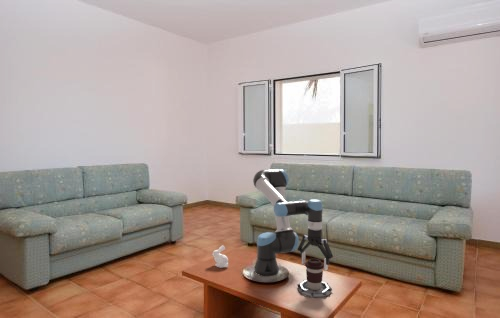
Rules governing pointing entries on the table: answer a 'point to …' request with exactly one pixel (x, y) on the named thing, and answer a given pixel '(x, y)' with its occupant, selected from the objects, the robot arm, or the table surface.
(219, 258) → the rabbit
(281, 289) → the table surface
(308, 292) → the grey flat octagonal tray
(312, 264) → the coffee cup
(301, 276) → the table surface
